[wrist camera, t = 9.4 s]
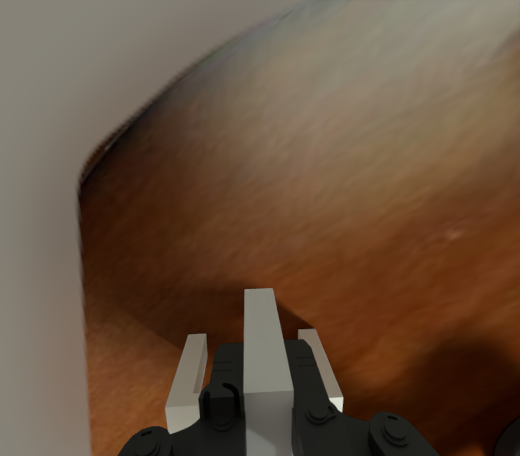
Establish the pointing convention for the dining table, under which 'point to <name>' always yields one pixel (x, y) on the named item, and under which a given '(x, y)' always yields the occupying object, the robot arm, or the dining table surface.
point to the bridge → (192, 373)
